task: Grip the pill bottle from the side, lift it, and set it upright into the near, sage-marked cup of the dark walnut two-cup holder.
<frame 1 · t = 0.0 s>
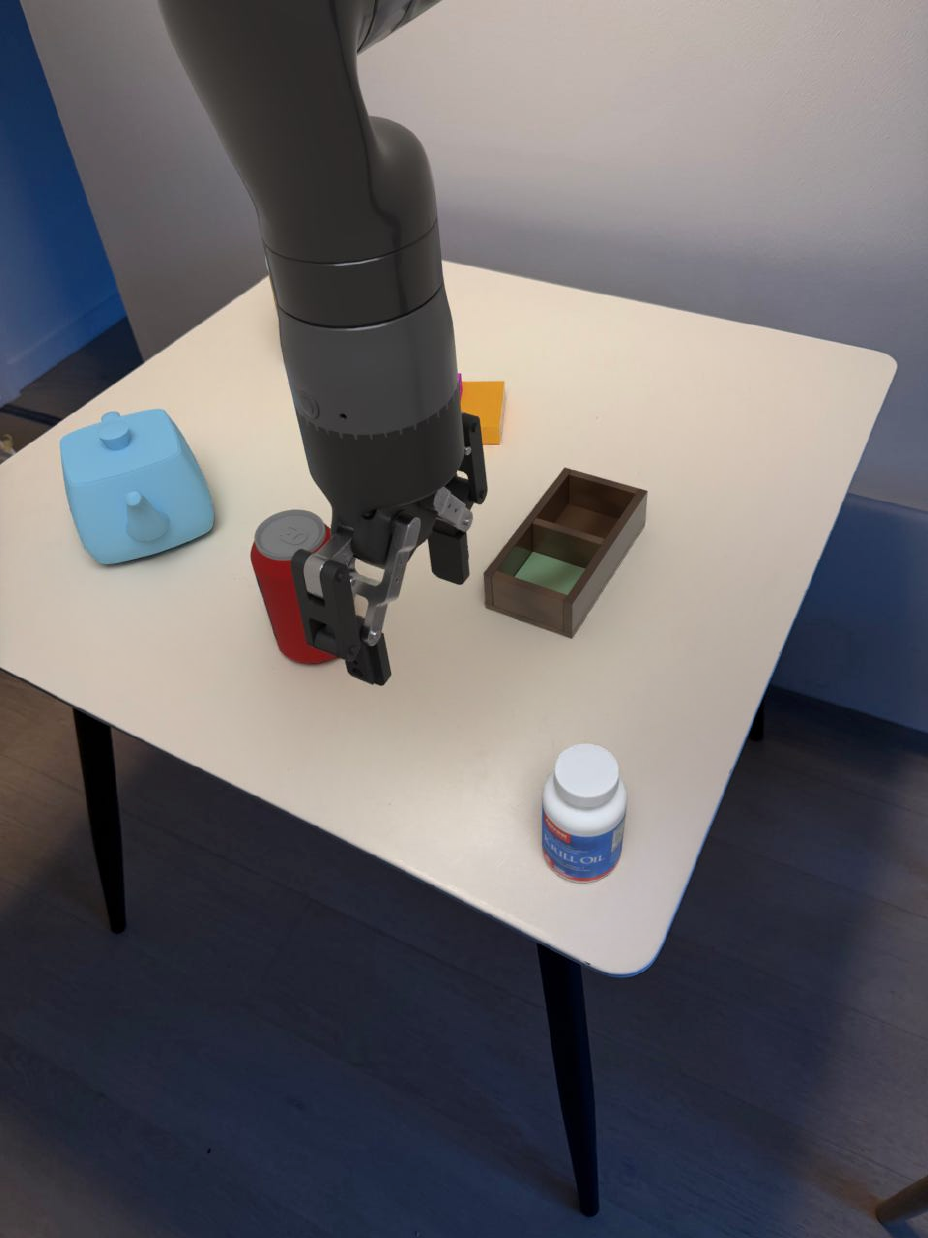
hand: (413, 624, 56), 20 cm above the table, tool pointing down, fingers open, 8 cm apart
teapot: (155, 537, 94), on the table
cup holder: (567, 565, 87), on the table
beverage can: (318, 640, 83), on the table
flat orange square base: (464, 422, 103), on the table
supplement tub: (342, 359, 113), on the table
pill bottle: (582, 851, 68), on the table
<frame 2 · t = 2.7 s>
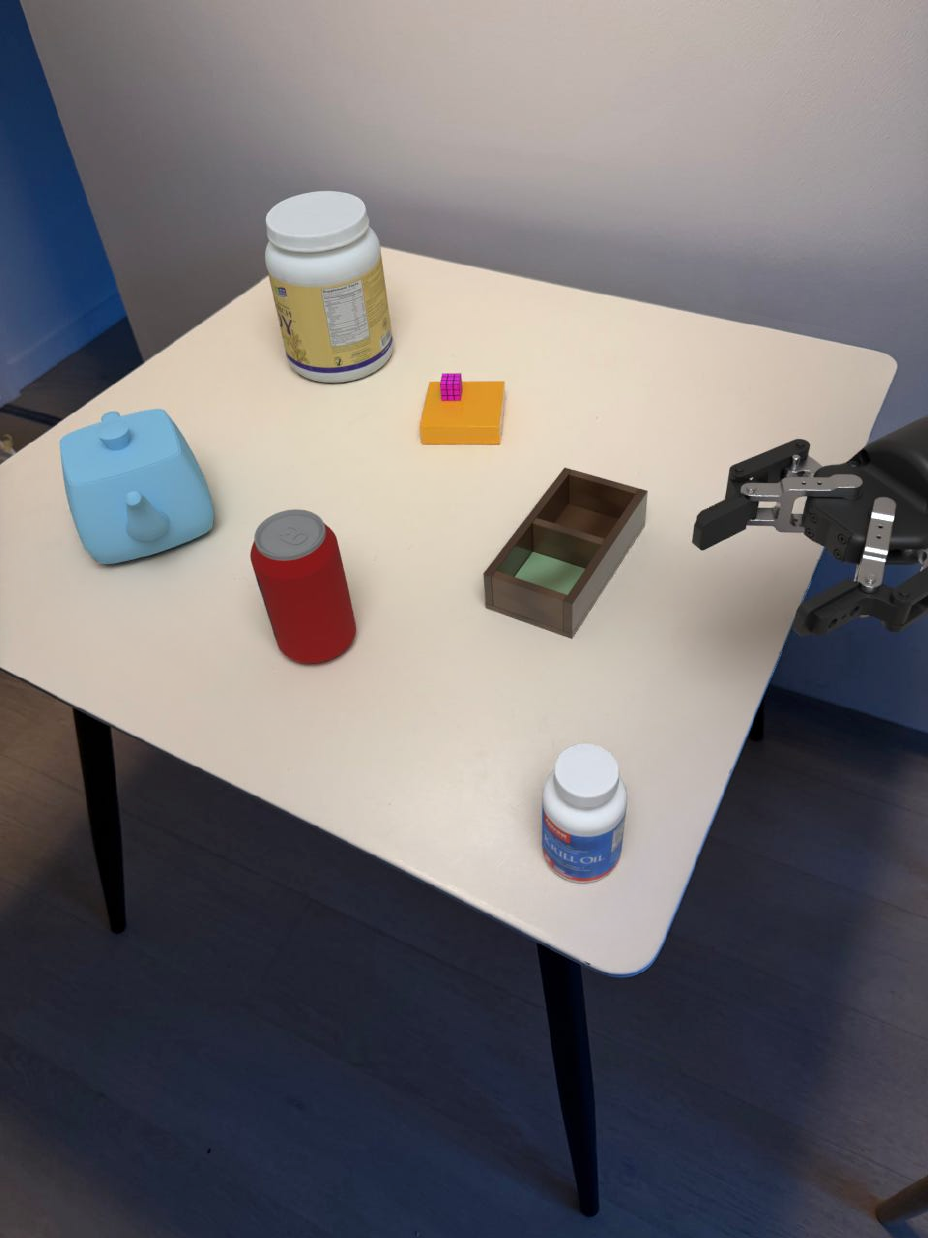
hand: (745, 577, 56), 20 cm above the table, tool horizontal, fingers open, 8 cm apart
nothing on the table moved.
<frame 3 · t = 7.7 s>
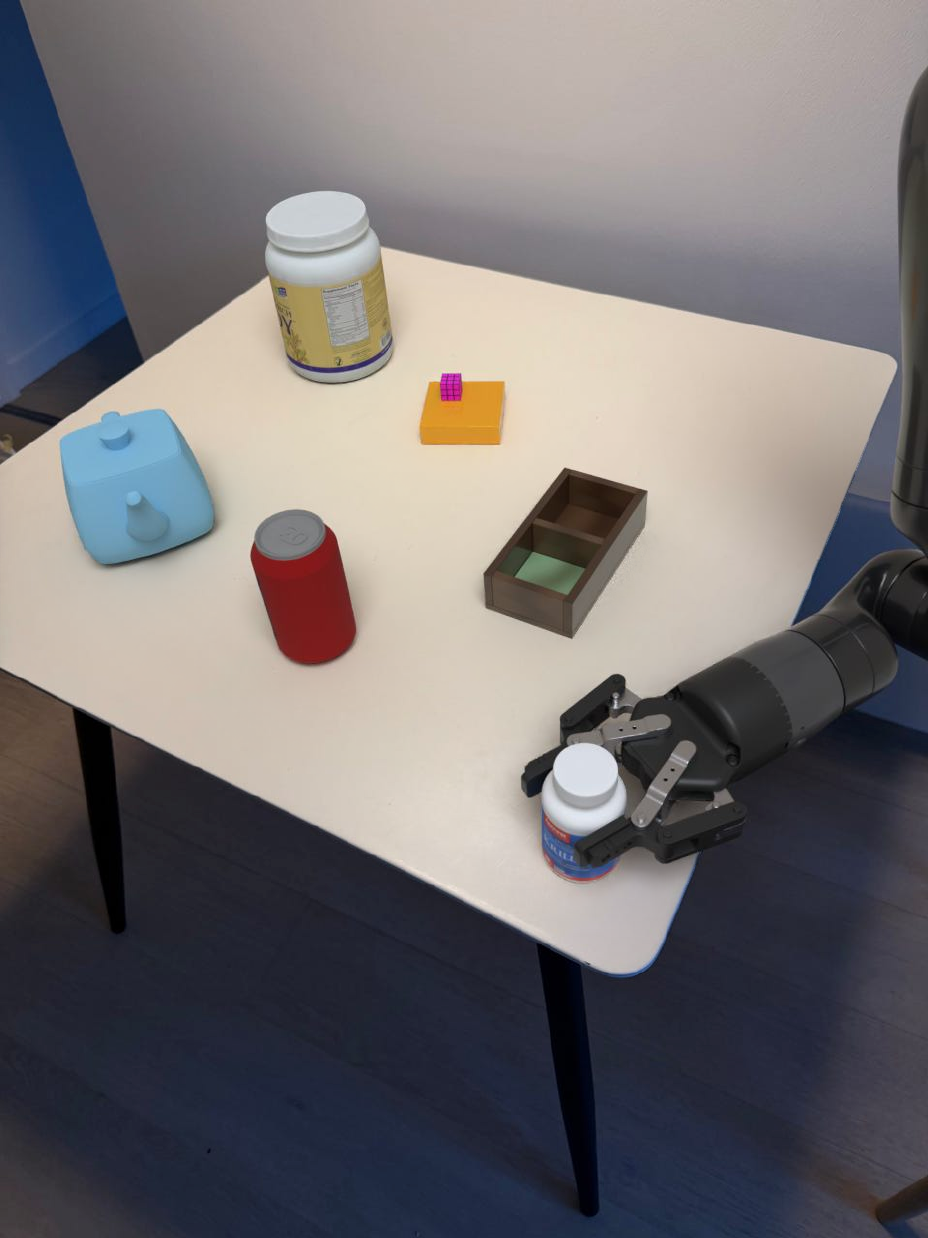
hand: (550, 820, 63), 6 cm above the table, tool horizontal, fingers closed on pill bottle, 5 cm apart
pill bottle: (582, 851, 68), on the table, touching gripper
everything else where it was.
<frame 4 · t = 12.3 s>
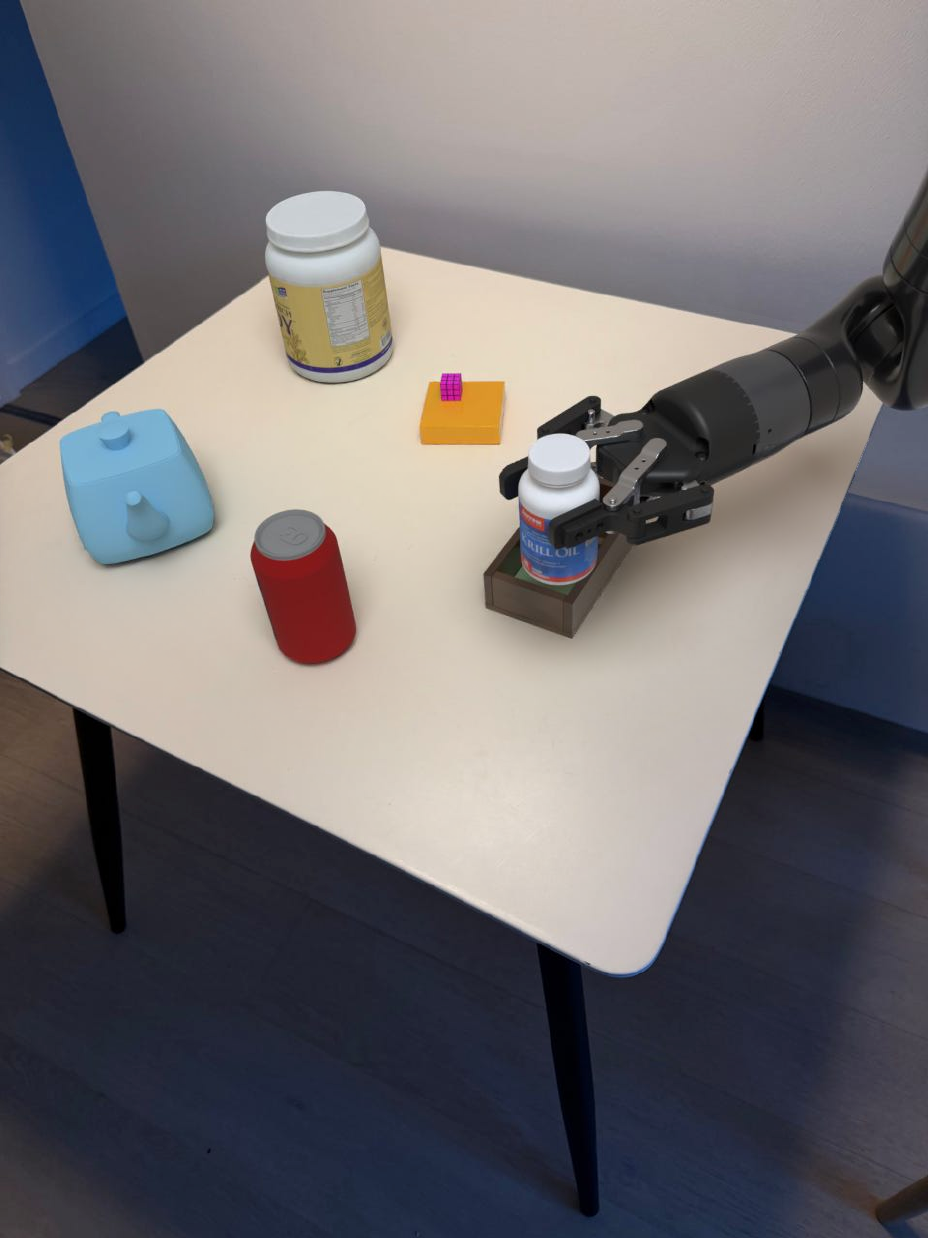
hand: (527, 510, 65), 18 cm above the table, tool horizontal, fingers closed on pill bottle, 5 cm apart
pill bottle: (559, 563, 71), point 12 cm above the table, touching gripper
everything else where it was.
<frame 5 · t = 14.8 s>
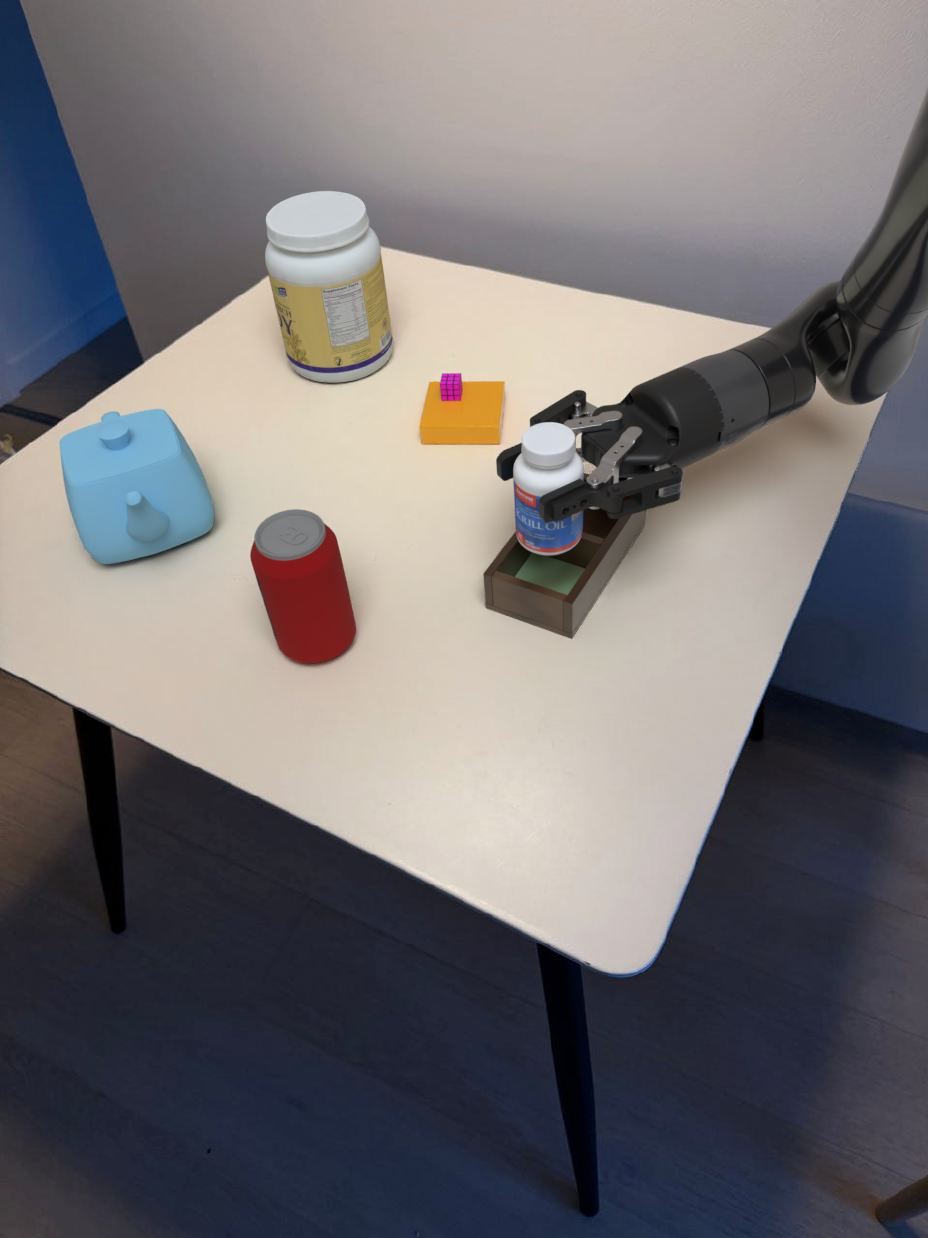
hand: (520, 489, 75), 12 cm above the table, tool horizontal, fingers closed on pill bottle, 5 cm apart
pill bottle: (549, 537, 80), point 6 cm above the table, touching gripper
everything else where it was.
when the fingers open (7 cm above the table, at t = 16.9 s): pill bottle stays where it is, resting on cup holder.
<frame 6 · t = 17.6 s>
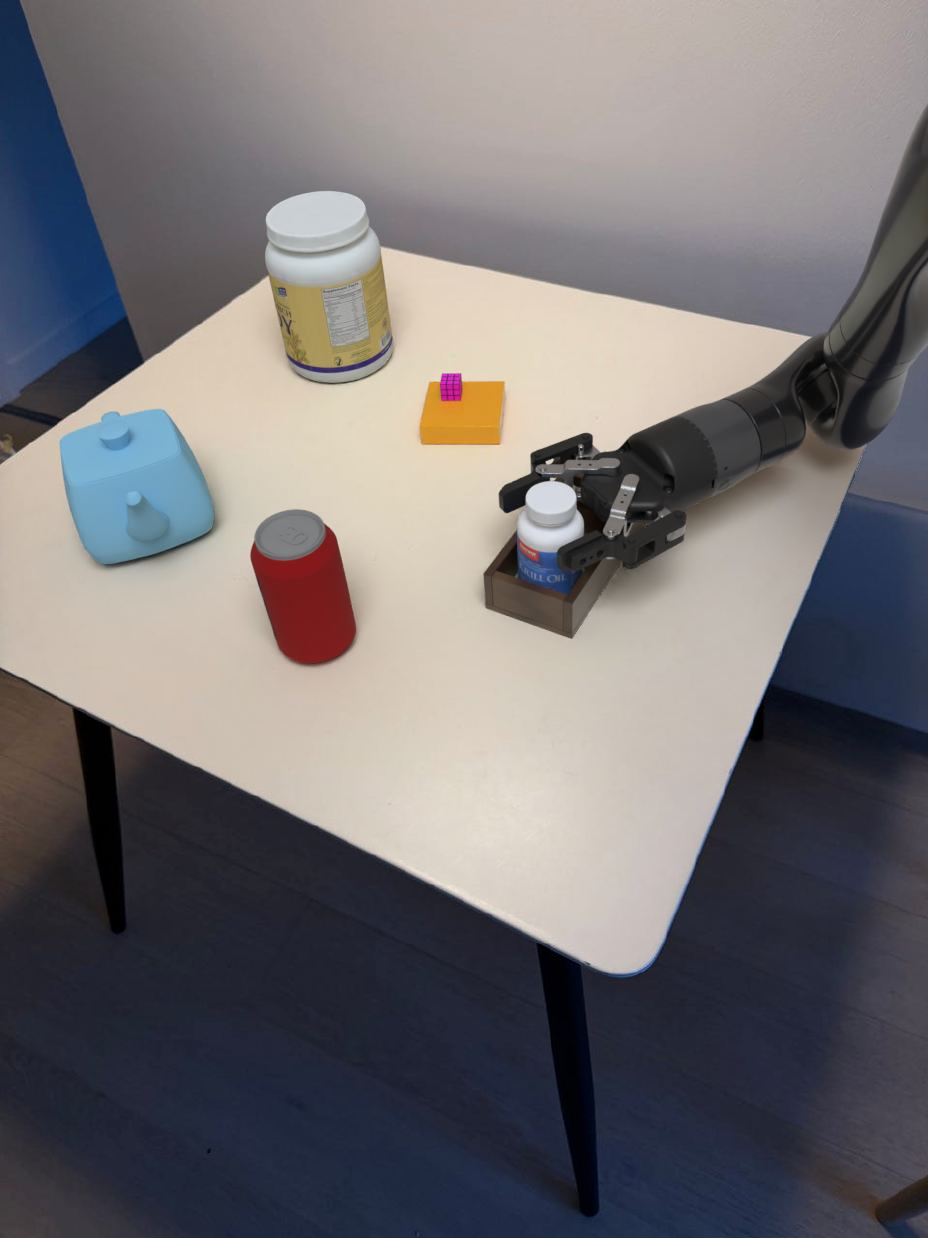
hand: (529, 531, 78), 8 cm above the table, tool horizontal, fingers open, 8 cm apart
pill bottle: (550, 586, 84), point 1 cm above the table, touching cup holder
everything else where it was.
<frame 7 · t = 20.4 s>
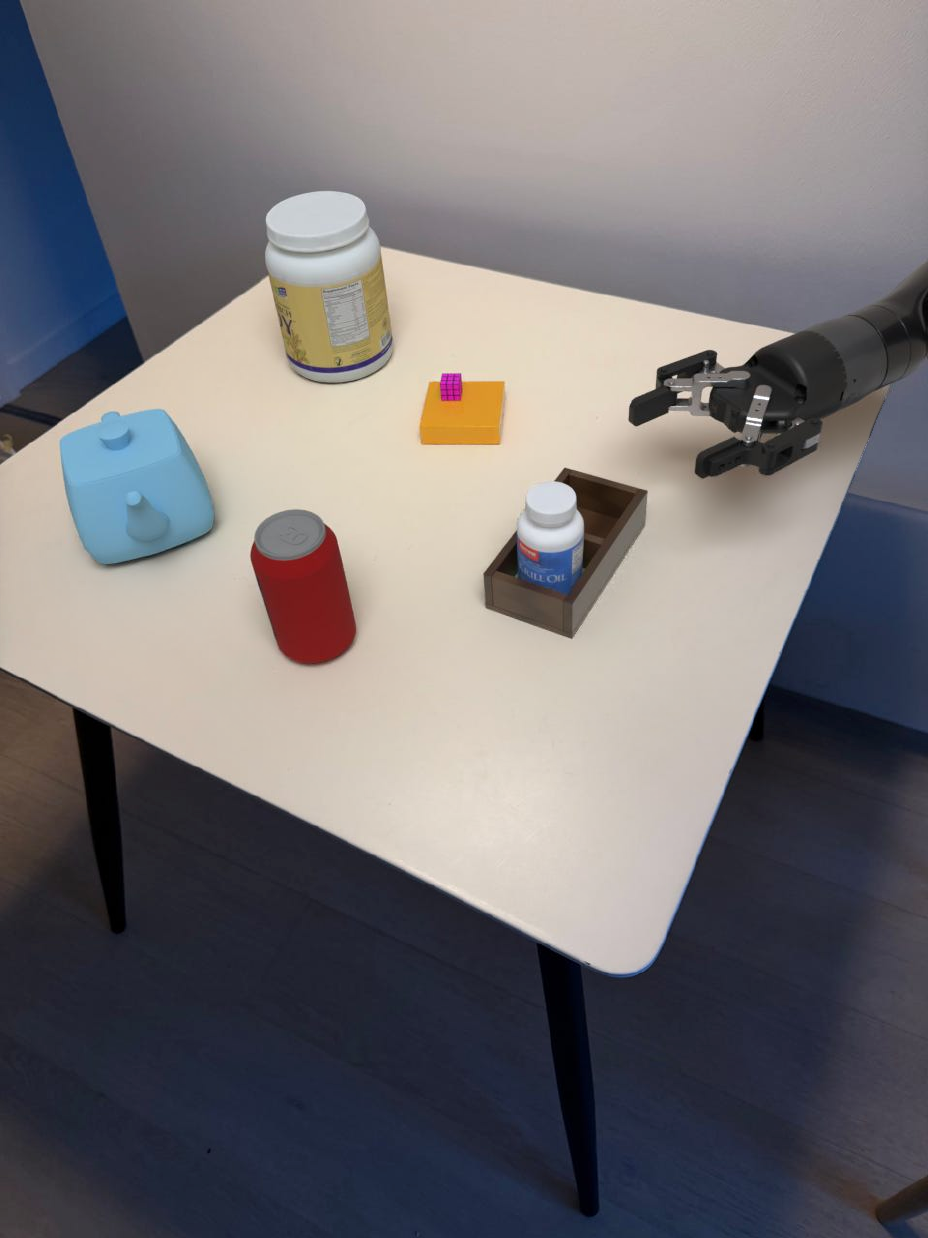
hand: (663, 440, 79), 12 cm above the table, tool horizontal, fingers open, 8 cm apart
nothing on the table moved.
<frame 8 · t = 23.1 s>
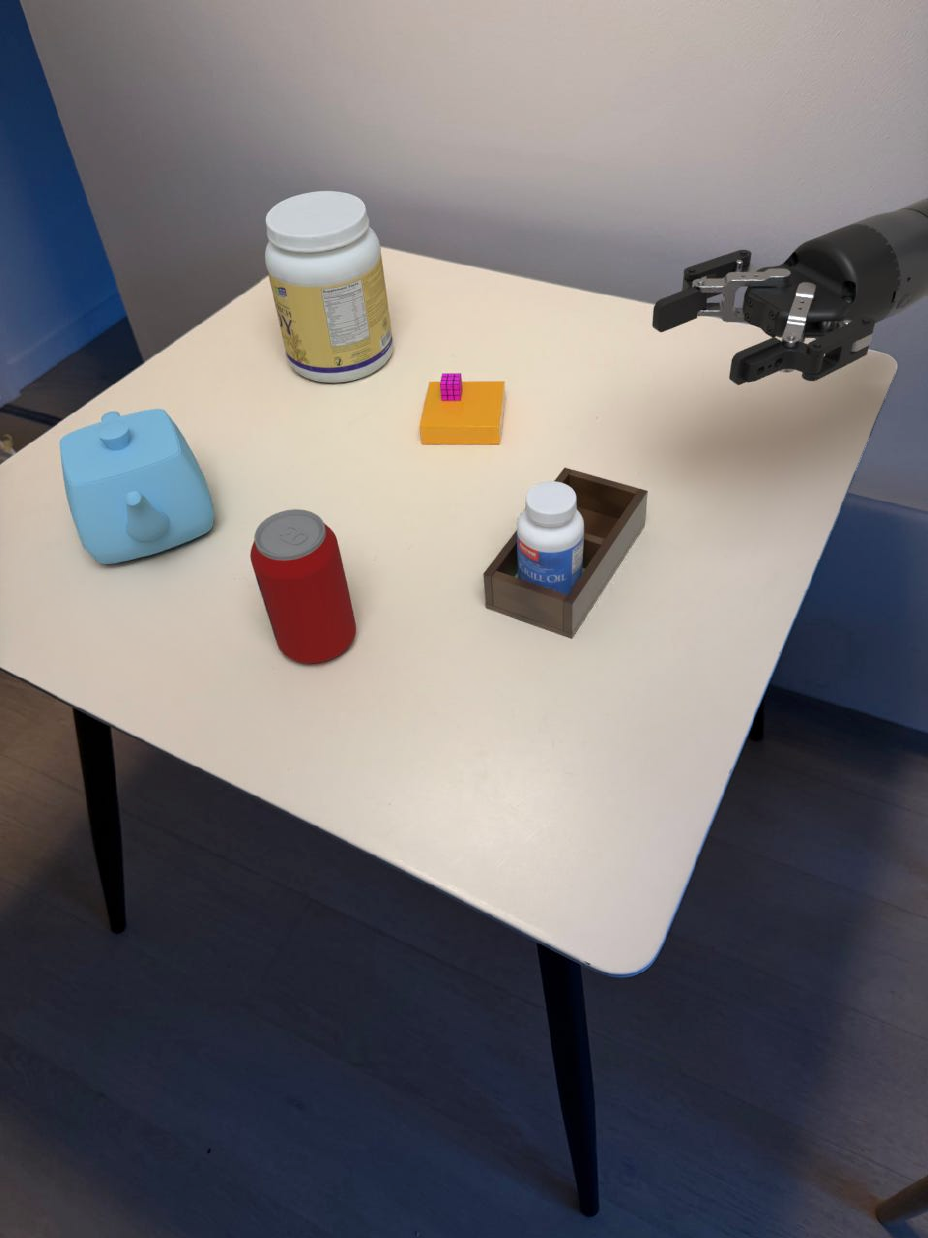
hand: (693, 343, 70), 22 cm above the table, tool horizontal, fingers open, 8 cm apart
nothing on the table moved.
at the end: pill bottle 0.1 cm from the target spot in the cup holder, point 0.6 cm above the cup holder's base; pill bottle tilted 0°; the gripper is holding nothing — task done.
